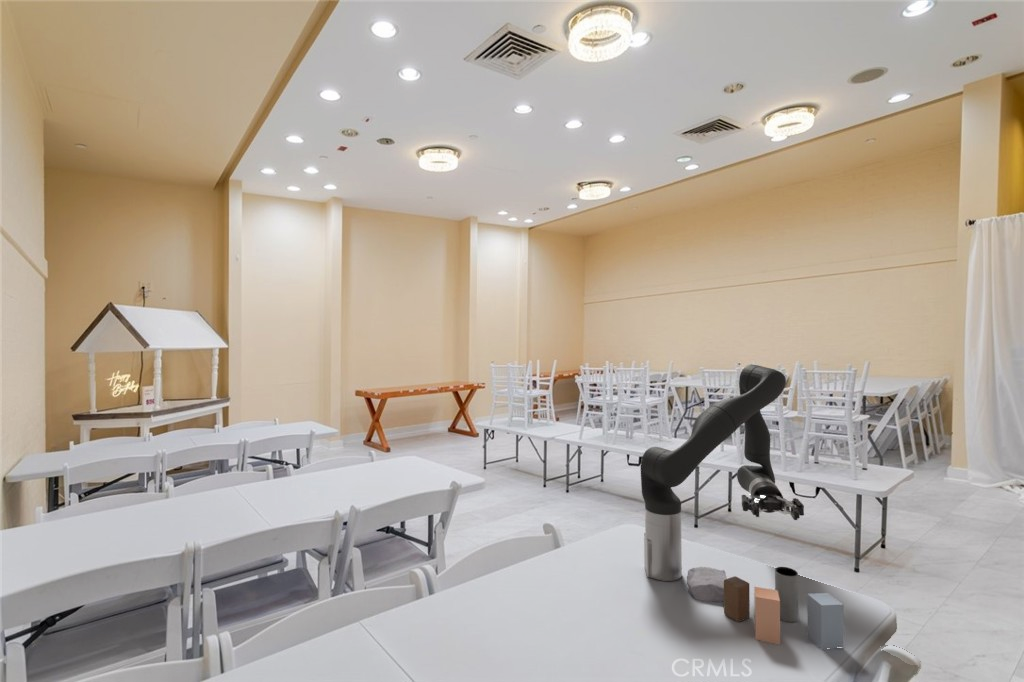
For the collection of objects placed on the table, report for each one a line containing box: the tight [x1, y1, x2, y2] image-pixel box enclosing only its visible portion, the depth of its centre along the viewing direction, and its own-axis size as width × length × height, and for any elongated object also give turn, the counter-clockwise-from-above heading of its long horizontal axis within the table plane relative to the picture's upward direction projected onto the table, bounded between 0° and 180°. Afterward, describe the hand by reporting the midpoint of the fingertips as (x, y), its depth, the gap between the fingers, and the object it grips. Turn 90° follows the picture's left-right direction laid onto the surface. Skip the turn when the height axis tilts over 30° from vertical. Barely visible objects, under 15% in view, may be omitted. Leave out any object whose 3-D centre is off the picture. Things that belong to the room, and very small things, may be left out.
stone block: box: [686, 566, 728, 603], centre depth 126 cm, size 12×5×10 cm
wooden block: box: [723, 576, 751, 623], centre depth 114 cm, size 4×4×8 cm
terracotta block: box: [753, 586, 781, 645], centre depth 106 cm, size 4×4×9 cm
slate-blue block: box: [806, 592, 844, 650], centre depth 104 cm, size 4×4×9 cm
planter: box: [774, 566, 799, 623], centre depth 113 cm, size 4×4×10 cm
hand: (776, 514), depth 125 cm, fingers open, 8 cm apart
